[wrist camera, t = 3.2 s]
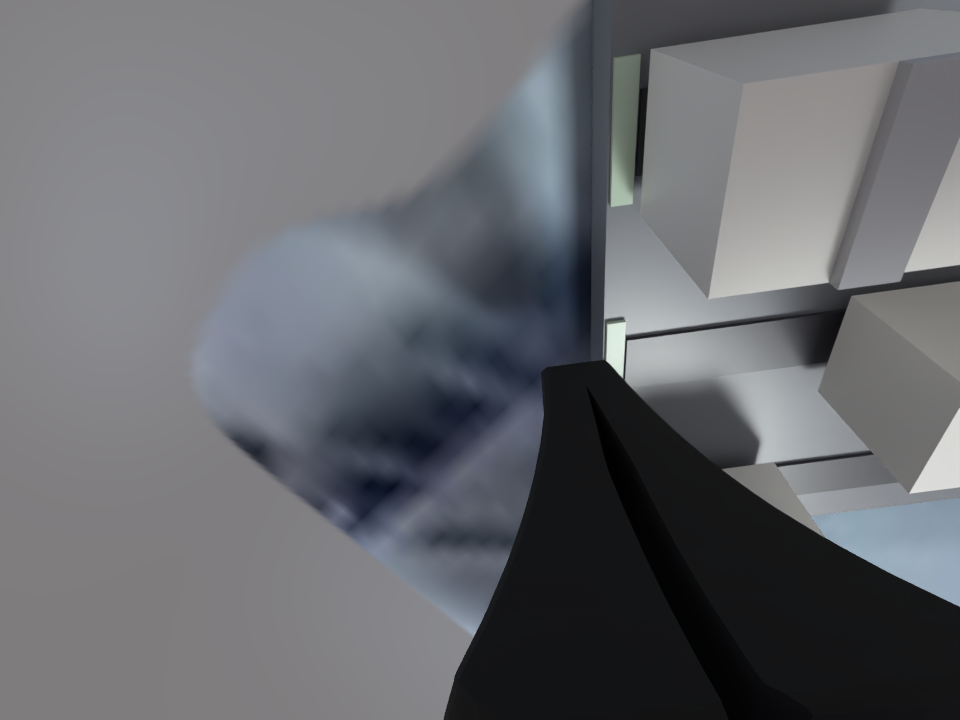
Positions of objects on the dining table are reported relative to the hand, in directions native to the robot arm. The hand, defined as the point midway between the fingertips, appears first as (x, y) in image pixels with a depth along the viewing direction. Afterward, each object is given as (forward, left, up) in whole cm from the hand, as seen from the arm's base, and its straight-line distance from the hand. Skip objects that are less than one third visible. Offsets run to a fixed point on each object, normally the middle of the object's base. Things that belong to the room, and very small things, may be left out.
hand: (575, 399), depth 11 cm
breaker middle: (0, -8, -1) cm, 8 cm away
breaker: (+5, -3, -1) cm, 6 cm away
